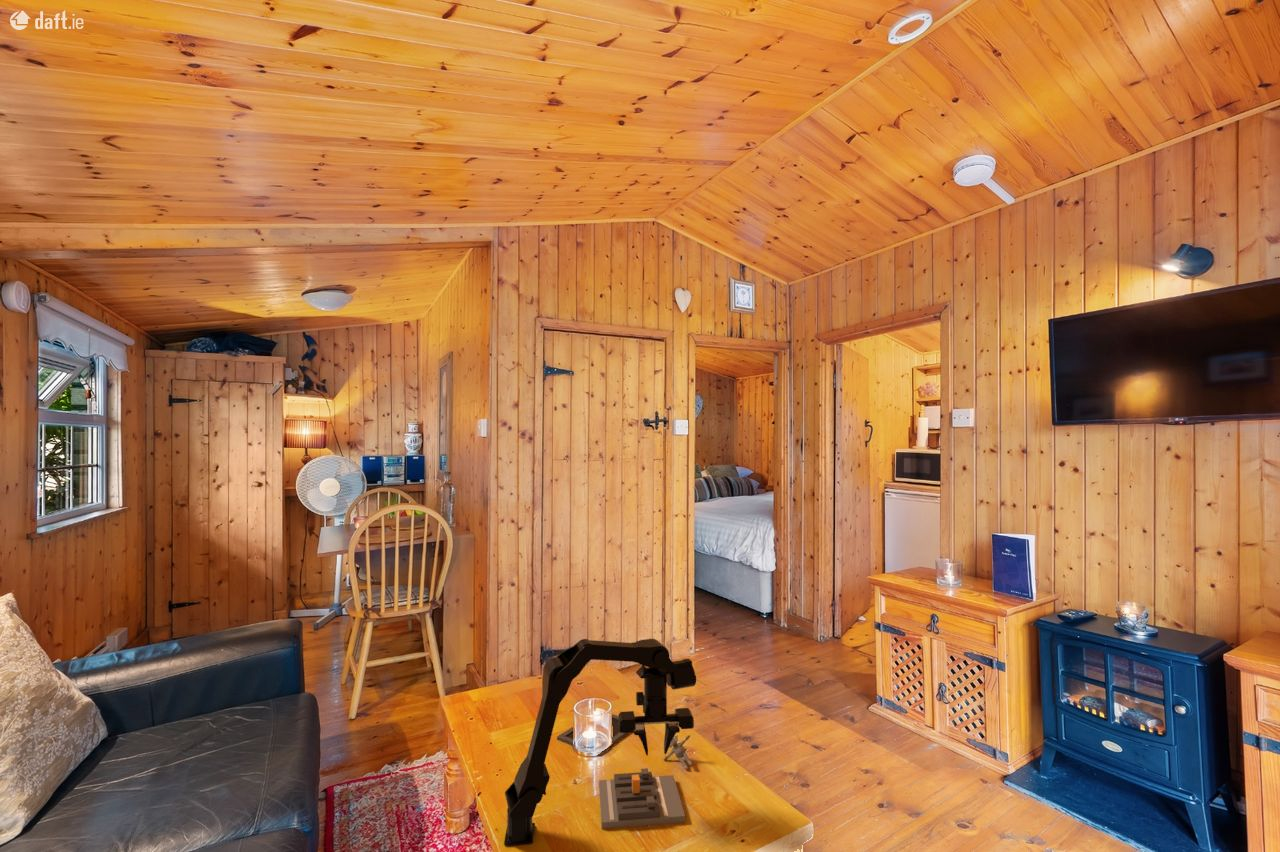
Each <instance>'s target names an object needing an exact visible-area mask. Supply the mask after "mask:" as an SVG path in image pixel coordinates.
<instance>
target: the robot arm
mask: <svg viewBox="0 0 1280 852" xmlns="http://www.w3.org/2000/svg"><path fill="white" fill-rule="evenodd" d="M592 660H594V661H595V660H596V661H610V662H611V661H614V662H627V663H628V662H631V663H632V662H633V663H636V664H639V665H641V666H640V667H639V668H638V669H637V670H636V671H635V674H636V675H637V676H638V677H639V679H641V680H642V679H644V680H643V685H644V686H643V688H644V689H643V691H636V692H635V702H636V703H635V704H636V706H638V707H639V706H642V712H643V715H637V716H636V715H635V712H634V710H630V711H629V710H628V711H620V712H619V713H618V715H617V716H618V722H619V729H620V732H621V733H629V734H630V733H633V734H634V736H638V738H639V740H640V741H641V744H642V747H643V749H644V753H645V755H646V756H649V747H648V741H647V740H648V739H647V732H646V728H645V727H646V725H657V724H664V726H665V727H664V728H665V729H664V730H665V731H664V739H663V740H664V742H663V753H664V755H667V754H668V751H669V748H670V747H669V746H670V743H671V741H672V739H673V738H674V737H675V736H676V734H678V733H680V732H681V731H680V730H690V729H691V730H692V729H694V727H695V722H694V721H695V720H694V716H693V714H692V711H691V709H690V708H689V707H681V708H679V707H678V708H674V712H671V713H668V697H667V696H668V695H667V693H668V691H667V689H668V687H670V689H672V690H673V691H674V690H679V689H686V688H690V687H695V686H696V684H697V675H696V672H695V669H694V666H693V661H692V660H691V659H690V658H684V659H682V660H675V661H672V660H671V658H670V652H669V650H668V648H667V647H666V646H665V645H664V644H662V642H661V641H660V640H657V639H656V638H647V639H639V640H637V641H634V642H624V641H623V642H621V641H608V640H607V641H606V640H593V639H588V638H582V639H580V640H578V641H577V643H575V644H574V645H572V646H570V647H568V648H566V649H565V650H563V651H561V652H560V653H559V654H558V655H556V656H554V657H552V658H550V659H548V660H547V661H546V662H545V663H544V666H543V668H542V671H543V672H542V677H541V679H542V681H541V684H542V685H541V689H542V690H541V691H542V692H541V693H542V696H541V700H540V703H539V704H540V705H539V708H538V711H537V714H536V715H537V716H536V720H535V724H534V727H533V732H532V736H531V739H530V742H529V747H528V750H527V755H526V757H525V758H524V760H523V761H522V762H521V763H520V765H519V768H518V770H517V772H516V775H515V777H514V781H512V783H511V784H510V785H509V787H508V788H507V789H506V790H505V792H504V796H505V800H506V804H507V809H506V811H507V815H506V816H507V817H506V819H507V821H506V822H507V823H506V831H505V836H504V841H503V844H504V846H515V845H516V846H517V845H528V844H532V843H534V839H535V828H536V823H535V822H533V817H534V815H535V811H536V809H537V805H538V804H540V802H541V801H542V800H543V796H546V795H547V786H548V783H549V781H550V779H551V775H550V773H549V771H548V768H547V765H546V763H545V762H546V758H547V754H548V750H549V746H550V743H551V739H552V736H553V730H554V727H555V723H556V719H557V715H558V711H559V707H560V704H561V703H562V701H563V700H564V698H565V697H566V696H567V693H568V691H569V689H570V687H571V684H572V682H573V680H574V679H575V678H577V677H578V676H579V675H580V674H581V672H582V671H583V670H584V669H585V667H586V665H587V664H588V663H589V662H590V661H592ZM667 686H668V687H667Z"/></svg>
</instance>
